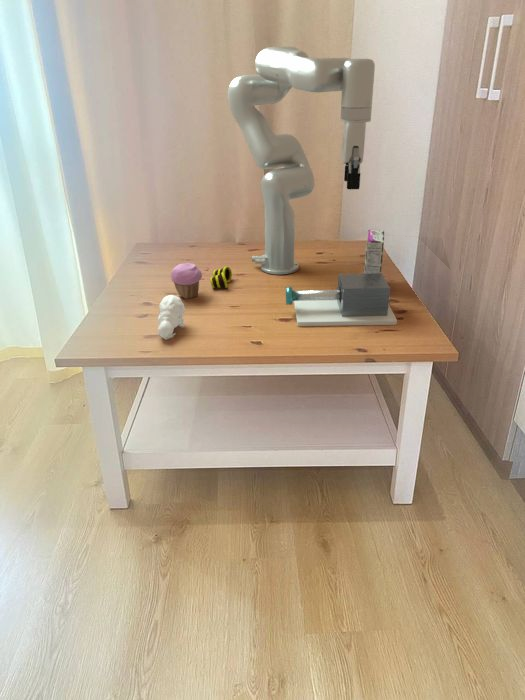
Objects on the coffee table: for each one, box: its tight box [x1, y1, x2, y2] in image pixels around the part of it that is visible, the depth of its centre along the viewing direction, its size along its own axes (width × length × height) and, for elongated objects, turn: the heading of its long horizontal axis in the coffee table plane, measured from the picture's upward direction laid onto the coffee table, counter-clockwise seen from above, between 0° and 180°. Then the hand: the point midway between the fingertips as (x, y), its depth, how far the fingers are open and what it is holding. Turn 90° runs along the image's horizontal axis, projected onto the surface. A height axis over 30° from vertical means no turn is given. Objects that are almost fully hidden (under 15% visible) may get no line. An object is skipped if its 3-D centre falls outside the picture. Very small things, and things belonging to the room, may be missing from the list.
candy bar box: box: [363, 229, 385, 274], centre depth 159 cm, size 11×5×16 cm, turn 168°
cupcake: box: [170, 262, 203, 300], centre depth 157 cm, size 9×9×10 cm
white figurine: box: [157, 294, 185, 341], centre depth 137 cm, size 6×8×12 cm
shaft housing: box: [337, 272, 391, 317], centre depth 145 cm, size 12×10×8 cm
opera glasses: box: [209, 265, 233, 290], centre depth 166 cm, size 10×5×5 cm, turn 174°
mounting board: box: [293, 300, 398, 327], centre depth 148 cm, size 26×16×1 cm, turn 91°
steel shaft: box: [285, 286, 342, 306], centre depth 145 cm, size 23×5×5 cm, turn 91°
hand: (351, 184), depth 143 cm, fingers open, 9 cm apart
